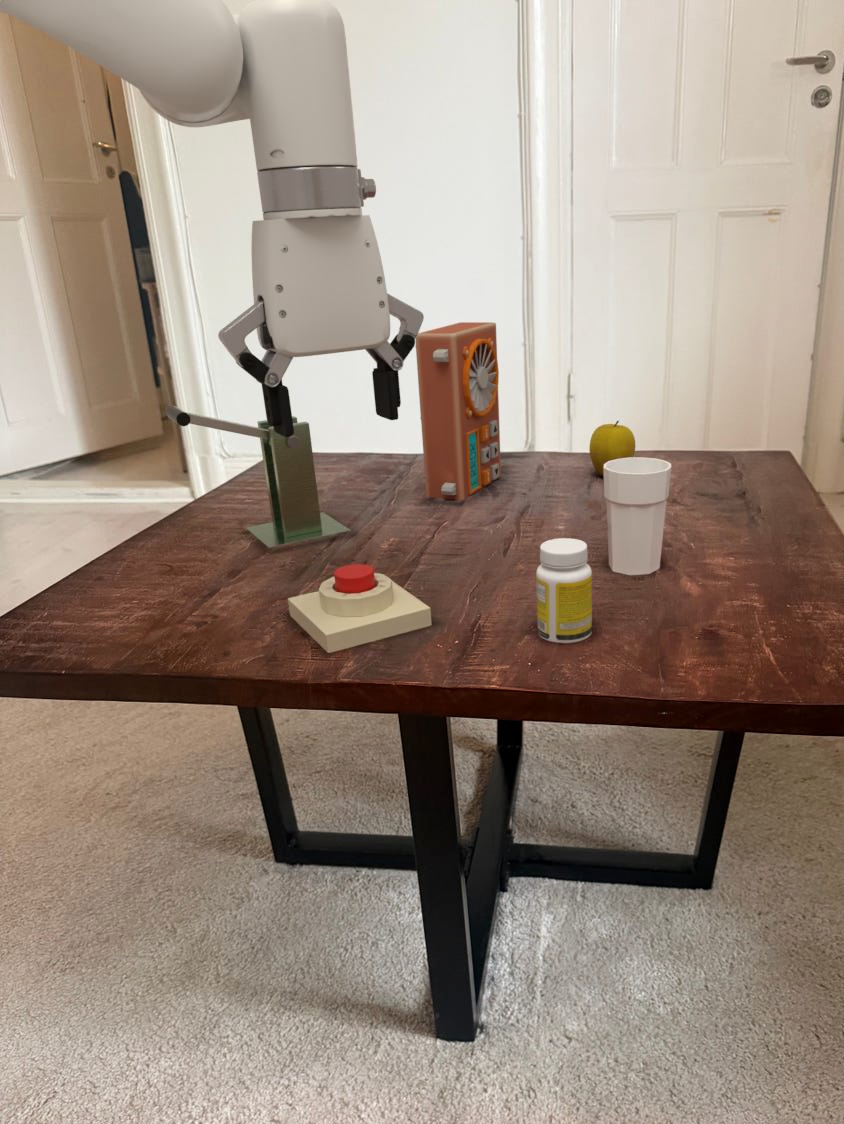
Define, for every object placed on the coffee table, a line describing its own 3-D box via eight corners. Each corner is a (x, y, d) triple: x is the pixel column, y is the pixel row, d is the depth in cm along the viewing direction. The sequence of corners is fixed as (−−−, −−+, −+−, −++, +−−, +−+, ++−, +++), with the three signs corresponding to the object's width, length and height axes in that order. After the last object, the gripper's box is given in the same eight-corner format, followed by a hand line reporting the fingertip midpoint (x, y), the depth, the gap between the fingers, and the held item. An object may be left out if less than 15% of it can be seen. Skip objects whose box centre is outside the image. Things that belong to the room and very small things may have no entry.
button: (345, 599, 79) (342, 581, 78) (330, 587, 82) (327, 569, 81) (382, 590, 81) (380, 572, 80) (366, 578, 84) (364, 561, 83)
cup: (589, 566, 94) (590, 463, 89) (641, 555, 96) (645, 454, 92) (625, 586, 88) (628, 477, 84) (679, 573, 91) (685, 467, 86)
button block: (329, 658, 77) (323, 615, 75) (290, 619, 85) (284, 580, 83) (432, 629, 81) (429, 589, 79) (386, 595, 89) (382, 558, 87)
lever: (174, 429, 93) (178, 406, 92) (164, 422, 97) (167, 399, 96) (302, 454, 101) (306, 433, 100) (287, 446, 105) (291, 426, 104)
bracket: (270, 557, 101) (251, 435, 95) (246, 536, 108) (228, 422, 102) (352, 539, 105) (339, 422, 100) (324, 521, 113) (310, 410, 107)
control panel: (510, 481, 126) (463, 512, 113) (465, 478, 128) (415, 507, 116) (505, 321, 117) (454, 335, 104) (457, 321, 119) (402, 335, 107)
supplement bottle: (600, 630, 79) (602, 540, 76) (576, 651, 76) (577, 558, 72) (553, 621, 82) (552, 533, 78) (527, 640, 78) (525, 549, 75)
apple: (625, 483, 122) (627, 424, 119) (582, 479, 125) (582, 422, 122) (640, 471, 127) (642, 415, 124) (598, 468, 130) (598, 413, 127)
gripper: (393, 196, 75) (409, 405, 82) (184, 203, 67) (223, 434, 74) (434, 191, 69) (448, 417, 76) (210, 199, 61) (250, 450, 68)
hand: (337, 425), depth 75 cm, fingers open, 8 cm apart
